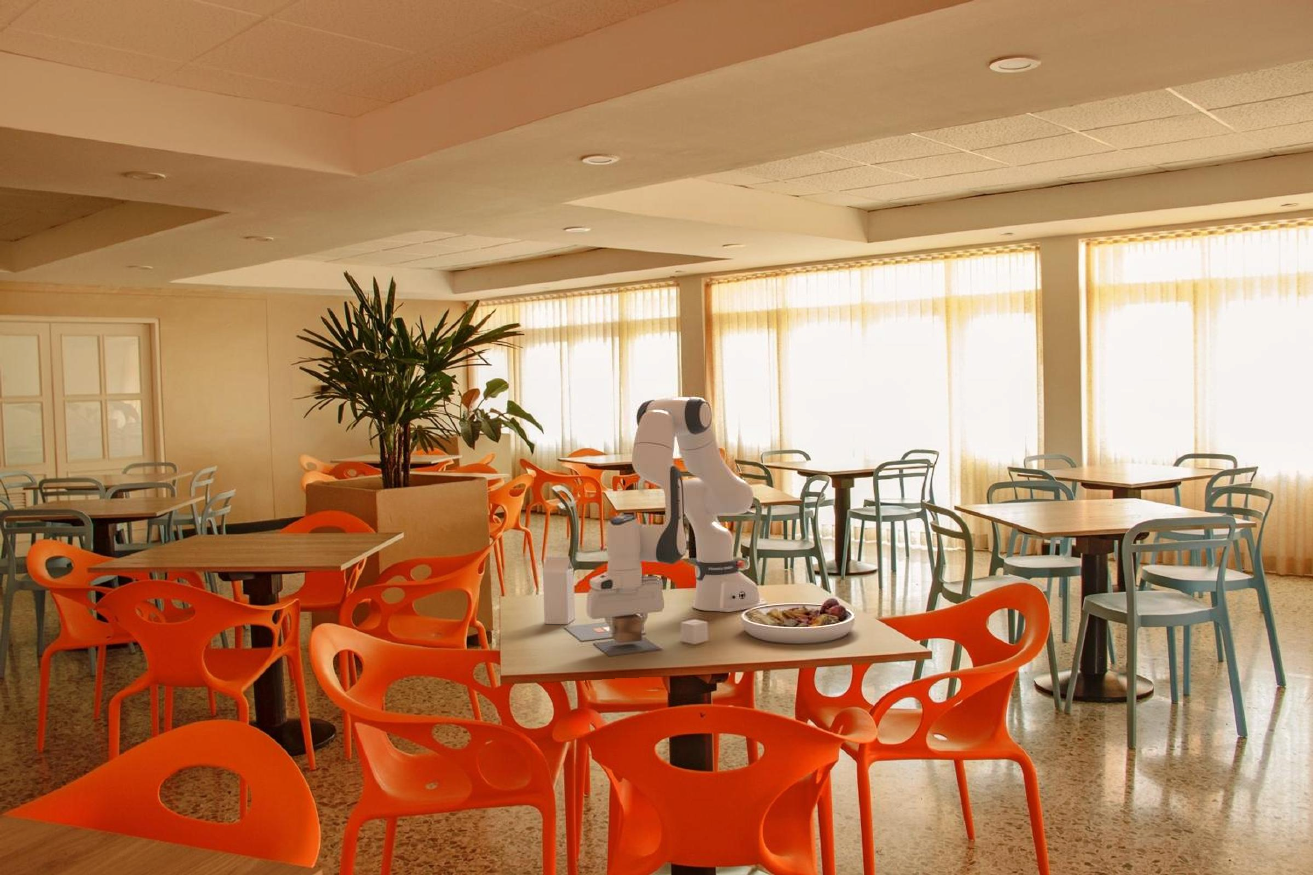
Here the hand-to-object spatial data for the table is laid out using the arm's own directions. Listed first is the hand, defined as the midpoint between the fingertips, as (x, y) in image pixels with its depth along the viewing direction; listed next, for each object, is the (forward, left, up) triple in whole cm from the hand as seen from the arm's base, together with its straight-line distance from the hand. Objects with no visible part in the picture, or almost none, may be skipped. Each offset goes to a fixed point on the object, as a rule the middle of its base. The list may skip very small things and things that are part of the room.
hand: (626, 632), depth 257 cm
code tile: (0, -20, -4) cm, 20 cm away
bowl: (-46, +6, -4) cm, 47 cm away
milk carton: (+8, -37, -4) cm, 38 cm away
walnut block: (0, 0, -2) cm, 2 cm away
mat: (0, 0, -4) cm, 4 cm away
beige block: (-18, +2, -4) cm, 18 cm away
